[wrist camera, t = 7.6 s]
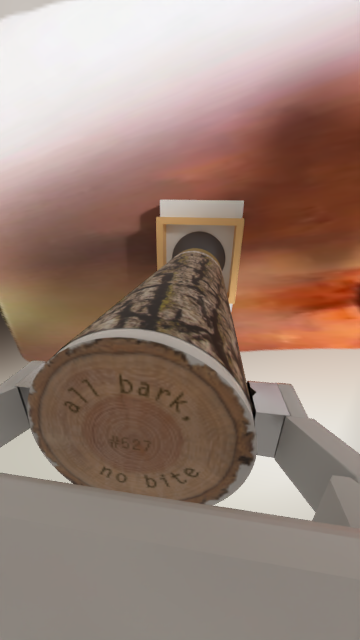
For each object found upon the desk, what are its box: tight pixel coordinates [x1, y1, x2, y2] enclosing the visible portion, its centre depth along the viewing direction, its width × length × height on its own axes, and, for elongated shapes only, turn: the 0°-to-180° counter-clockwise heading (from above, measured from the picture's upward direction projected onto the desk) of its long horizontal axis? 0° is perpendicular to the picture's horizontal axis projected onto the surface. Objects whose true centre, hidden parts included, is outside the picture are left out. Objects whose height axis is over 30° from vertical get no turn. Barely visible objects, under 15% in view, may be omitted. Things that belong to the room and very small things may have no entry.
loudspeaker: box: [156, 200, 245, 311], centre depth 40 cm, size 13×18×8 cm
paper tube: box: [27, 248, 257, 505], centre depth 18 cm, size 7×7×25 cm
